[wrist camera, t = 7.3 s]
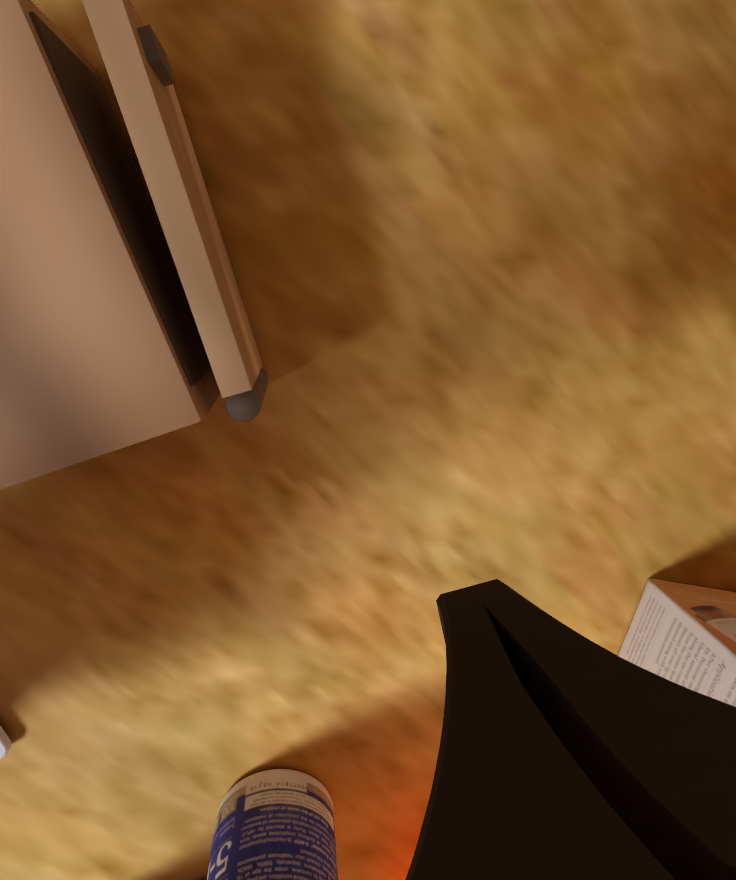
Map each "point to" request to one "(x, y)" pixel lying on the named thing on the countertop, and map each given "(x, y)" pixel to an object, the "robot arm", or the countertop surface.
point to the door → (180, 200)
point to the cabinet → (81, 271)
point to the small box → (686, 637)
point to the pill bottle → (274, 830)
